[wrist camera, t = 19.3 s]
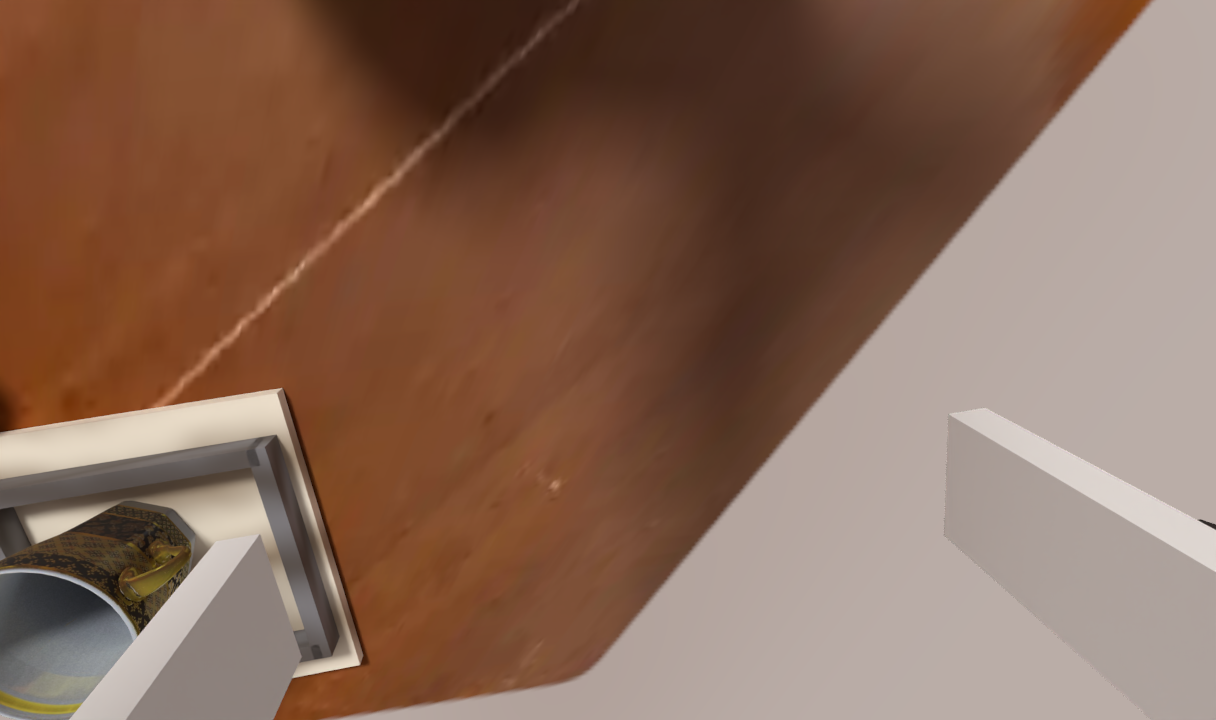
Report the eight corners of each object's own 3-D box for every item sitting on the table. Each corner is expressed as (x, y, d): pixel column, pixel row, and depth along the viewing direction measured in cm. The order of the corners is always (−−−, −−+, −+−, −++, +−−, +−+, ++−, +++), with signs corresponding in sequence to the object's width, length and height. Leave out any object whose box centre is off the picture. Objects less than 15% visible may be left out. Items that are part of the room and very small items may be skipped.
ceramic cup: (132, 629, 45) (27, 753, 36) (26, 522, 42) (-120, 627, 32) (291, 542, 45) (228, 644, 35) (196, 428, 41) (97, 506, 32)
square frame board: (-39, 438, 41) (-81, 458, 38) (282, 387, 42) (264, 404, 40) (89, 707, 48) (62, 741, 45) (363, 655, 49) (353, 685, 46)
